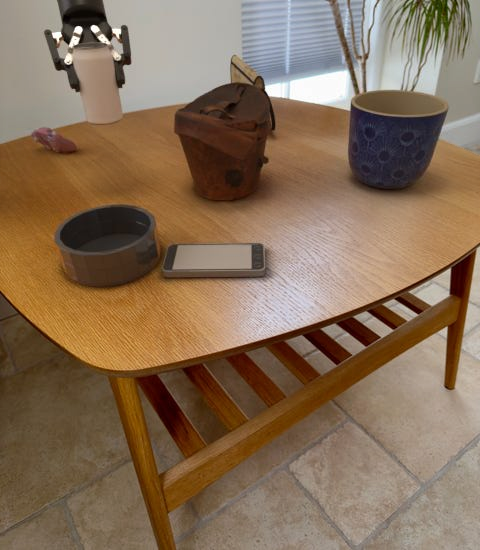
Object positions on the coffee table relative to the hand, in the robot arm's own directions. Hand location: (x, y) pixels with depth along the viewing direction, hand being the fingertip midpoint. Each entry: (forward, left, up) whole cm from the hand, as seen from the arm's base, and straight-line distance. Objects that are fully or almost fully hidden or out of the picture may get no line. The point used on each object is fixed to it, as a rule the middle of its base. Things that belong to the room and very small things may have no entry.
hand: (99, 87), depth 73 cm
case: (+20, +2, -20) cm, 29 cm away
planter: (+52, +4, -20) cm, 56 cm away
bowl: (+3, -22, -20) cm, 30 cm away
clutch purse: (+27, +42, -20) cm, 54 cm away
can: (-1, +2, -6) cm, 6 cm away
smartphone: (+19, -24, -20) cm, 37 cm away
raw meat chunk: (-22, +25, -20) cm, 39 cm away
